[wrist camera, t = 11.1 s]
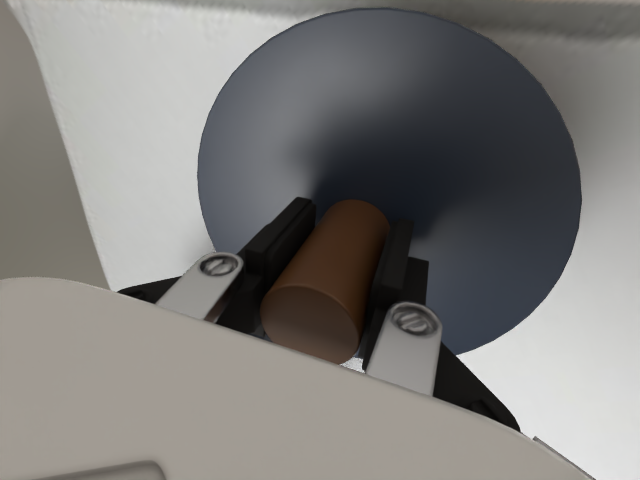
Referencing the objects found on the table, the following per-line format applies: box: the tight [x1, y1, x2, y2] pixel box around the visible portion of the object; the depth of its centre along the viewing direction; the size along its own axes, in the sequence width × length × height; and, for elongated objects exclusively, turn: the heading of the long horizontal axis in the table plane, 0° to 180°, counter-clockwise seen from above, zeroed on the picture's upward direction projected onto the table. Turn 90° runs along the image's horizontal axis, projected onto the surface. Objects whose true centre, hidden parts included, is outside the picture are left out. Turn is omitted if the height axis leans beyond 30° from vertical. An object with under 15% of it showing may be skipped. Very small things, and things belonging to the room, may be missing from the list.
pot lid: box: [197, 7, 582, 365], centre depth 11 cm, size 15×15×7 cm
